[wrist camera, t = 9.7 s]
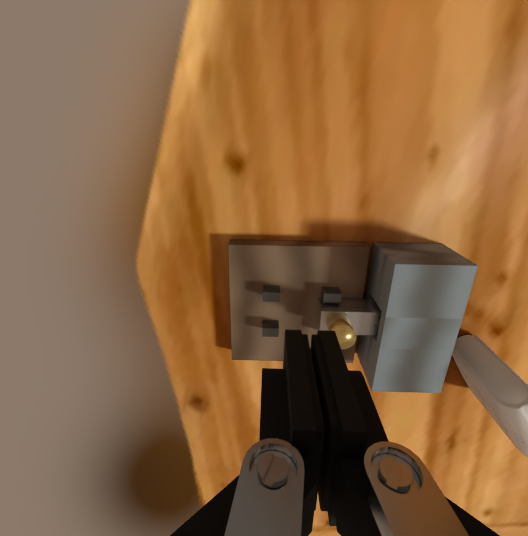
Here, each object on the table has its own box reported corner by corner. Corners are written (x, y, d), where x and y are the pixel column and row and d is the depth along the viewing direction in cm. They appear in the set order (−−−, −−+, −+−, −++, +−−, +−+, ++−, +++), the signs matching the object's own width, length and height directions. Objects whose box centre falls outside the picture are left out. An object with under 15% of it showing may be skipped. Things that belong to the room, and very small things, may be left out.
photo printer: (499, 380, 45) (578, 463, 33) (469, 392, 46) (535, 477, 34) (474, 327, 41) (552, 400, 30) (443, 342, 42) (506, 417, 31)
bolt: (315, 320, 39) (323, 350, 33) (317, 298, 38) (325, 326, 32) (413, 322, 39) (437, 353, 33) (418, 300, 38) (444, 329, 32)
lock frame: (233, 350, 44) (226, 387, 37) (230, 239, 37) (221, 260, 31) (415, 354, 43) (440, 392, 37) (442, 243, 37) (478, 265, 31)
